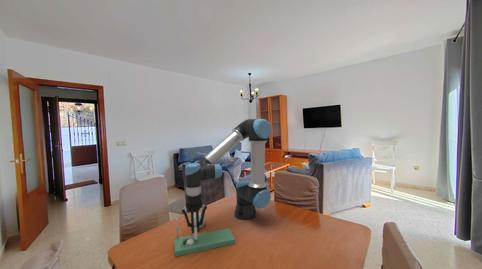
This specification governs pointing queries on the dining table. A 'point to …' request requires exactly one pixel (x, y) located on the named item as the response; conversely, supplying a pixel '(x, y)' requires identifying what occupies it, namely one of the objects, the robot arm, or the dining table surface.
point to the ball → (189, 242)
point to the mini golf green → (203, 241)
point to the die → (199, 220)
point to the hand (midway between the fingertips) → (195, 238)
